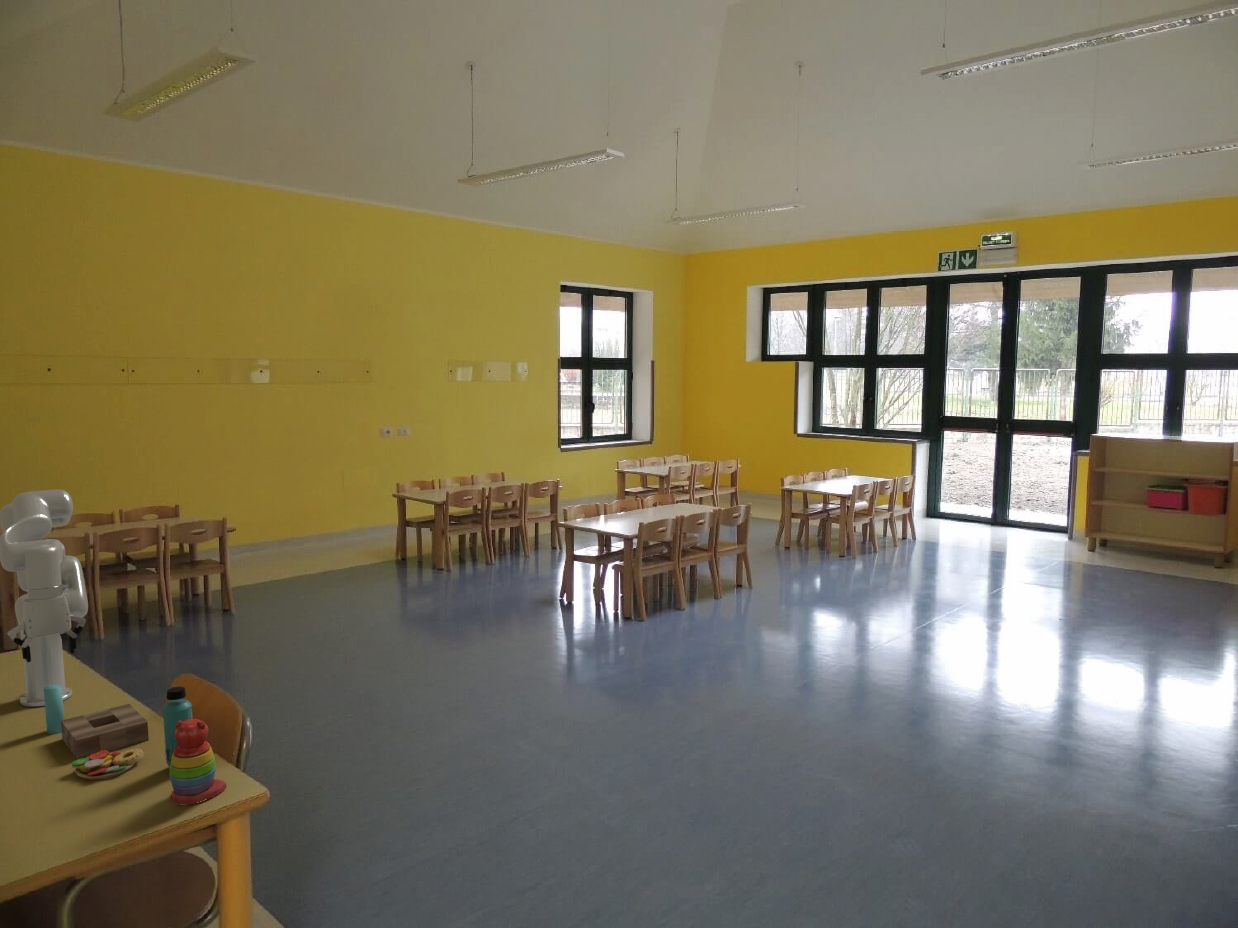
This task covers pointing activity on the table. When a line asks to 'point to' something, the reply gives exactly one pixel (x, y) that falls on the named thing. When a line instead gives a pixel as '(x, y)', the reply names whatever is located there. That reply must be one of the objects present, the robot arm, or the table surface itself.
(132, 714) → the socket block
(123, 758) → the toy food set
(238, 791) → the table surface
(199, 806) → the table surface
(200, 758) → the stacking bear
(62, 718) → the peg
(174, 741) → the beverage bottle
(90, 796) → the table surface
